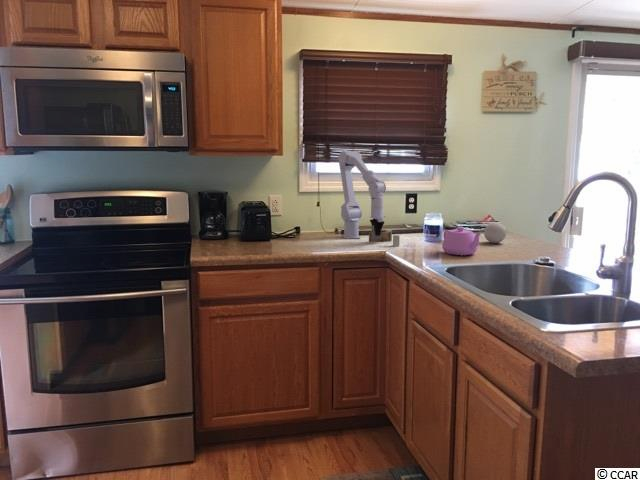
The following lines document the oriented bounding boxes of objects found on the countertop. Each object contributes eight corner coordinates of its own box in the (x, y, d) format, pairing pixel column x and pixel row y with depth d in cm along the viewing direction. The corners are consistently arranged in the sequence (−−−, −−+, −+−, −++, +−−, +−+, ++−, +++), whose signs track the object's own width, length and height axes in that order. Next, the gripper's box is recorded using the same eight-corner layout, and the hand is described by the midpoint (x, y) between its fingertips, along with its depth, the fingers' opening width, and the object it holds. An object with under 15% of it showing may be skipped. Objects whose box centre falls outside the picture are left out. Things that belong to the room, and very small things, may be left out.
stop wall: (392, 245, 241) (393, 234, 240) (397, 245, 241) (398, 234, 240) (394, 246, 238) (394, 235, 237) (399, 246, 238) (399, 235, 237)
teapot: (433, 252, 223) (434, 226, 221) (451, 248, 231) (452, 223, 229) (472, 260, 208) (473, 231, 206) (490, 255, 216) (492, 228, 214)
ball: (503, 245, 237) (504, 224, 235) (481, 243, 242) (482, 223, 240) (507, 242, 246) (508, 221, 244) (485, 240, 250) (487, 220, 249)
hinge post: (386, 240, 254) (386, 230, 253) (390, 239, 255) (390, 230, 254) (387, 240, 252) (387, 230, 251) (391, 240, 252) (391, 230, 252)
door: (390, 240, 252) (390, 231, 251) (391, 241, 251) (391, 232, 250) (368, 241, 250) (368, 232, 249) (369, 242, 249) (369, 233, 248)
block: (371, 237, 248) (371, 225, 247) (379, 237, 248) (379, 225, 247) (373, 239, 244) (373, 226, 243) (381, 238, 245) (381, 226, 243)
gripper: (388, 208, 237) (388, 237, 239) (381, 204, 251) (381, 232, 254) (374, 208, 236) (373, 237, 239) (367, 205, 250) (367, 232, 253)
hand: (376, 234), depth 246 cm, fingers closed on block, 4 cm apart
